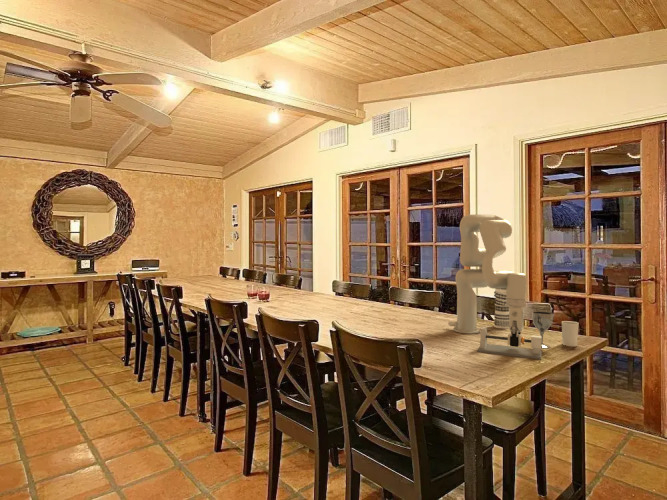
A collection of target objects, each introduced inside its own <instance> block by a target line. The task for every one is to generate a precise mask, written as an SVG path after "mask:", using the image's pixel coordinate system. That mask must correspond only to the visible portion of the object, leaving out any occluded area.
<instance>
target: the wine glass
mask: <svg viewBox="0 0 667 500" xmlns="http://www.w3.org/2000/svg"><path fill="white" fill-rule="evenodd" d="M531 314H532V323H533V326H535V328H536V329H537V330H538V331H539V334H540V335H539V336H541V349H550V348H551V346H550V345H548V344H544V341H543V339H544V335H545V332H546V331H547V330H548V329H549V328H550V327H551V325H552V323H553V322H552V321H553V312H550V311H547V310H546V311H545V310H533V311H532V312H531Z"/></svg>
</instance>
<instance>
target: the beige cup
mask: <svg viewBox="0 0 667 500" xmlns="http://www.w3.org/2000/svg"><path fill="white" fill-rule="evenodd" d="M578 335H579V322H577V321H571V320H570V321H568V320H564V321H561V337H562V338H561V341H562V343H561V344H562V345H563V346H565V345H566V347H577V346H578V338H579V336H578Z"/></svg>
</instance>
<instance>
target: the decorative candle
mask: <svg viewBox="0 0 667 500" xmlns="http://www.w3.org/2000/svg"><path fill="white" fill-rule="evenodd" d="M494 290H495V291H493V293H494V294H493V297H494V299H493V300H494V302H493V303H494V307H495V308H494V314H493V315H494V316H493V317H494V319H493V321H494V322H493V324H494V325H493V326H494V328H496V329H503V330H505V329H507V330H508V329H509V307H508V306H506V291H507V288H498V289H494Z"/></svg>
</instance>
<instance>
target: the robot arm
mask: <svg viewBox="0 0 667 500" xmlns="http://www.w3.org/2000/svg"><path fill="white" fill-rule="evenodd" d="M459 231H460V232H459V233H460V241H461V242H460V251H459V252H460V253H459V256H460V257H459V262H460V264H461V266H463V267H467V268H463V269H460V270H458V271H457V272H456V274H455V277H454V279H455V284H456V294H457V295H456V298H457V299H456V305H457V306H456V321H448V326H450V327H453V331H454V332H456V333H460V334H468V335H469V334H470V335H473V334H478V333H480V332H481V329H480V328H478V327H477V315H478V312H477V311H478V309H477V307H478V305H477V303H478V300H477V299H478V298H477V294H476V292H475V291H474V288H475V289H476V288H477V289H478V288H480V289H482V288H490V289H494V290H495V289H498V288H507V291H506V306H508V307H509V331H510V333H511V335H510V345H509V346H511V347H520V346H519V337H518V334H522V333H521V332H523V330H524V308H526V307H527V276H526V274H525V273H522V272H517V271H515V270H494V267H493V260H494V259H495V258H497V257H500V256H502V255H503V254H504V253H506V250H507V247H506V246H507V245H506V243H505V241H504V239H508V238H510V237H511V236H512V234H513V227H512V225H511V223H510V222H509V221H508V220H507V219H504V218H502V217H500V216H498V215H494V214H467V215H464V216H463V217H462V218H461V220H460V223H459ZM477 233H480V237H481V239H482V243H483V246H484V247H479V245H480V244H479V243H480V238H479V236H478V234H477ZM469 267H471V268H469ZM473 267H475V268H473ZM476 267H478V268H476Z"/></svg>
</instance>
